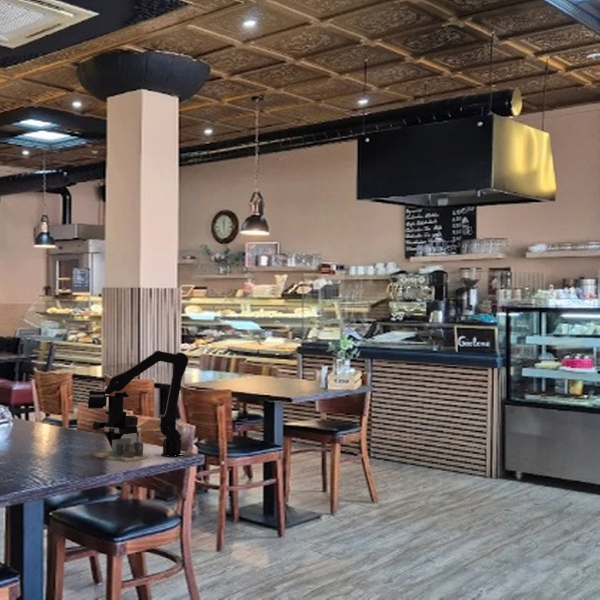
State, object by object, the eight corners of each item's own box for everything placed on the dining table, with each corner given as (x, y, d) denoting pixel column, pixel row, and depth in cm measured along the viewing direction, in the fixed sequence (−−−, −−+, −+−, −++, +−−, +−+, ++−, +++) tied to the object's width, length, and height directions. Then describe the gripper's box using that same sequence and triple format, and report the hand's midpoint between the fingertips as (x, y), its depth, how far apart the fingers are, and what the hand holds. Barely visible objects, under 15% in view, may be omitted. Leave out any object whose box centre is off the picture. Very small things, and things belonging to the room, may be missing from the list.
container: (140, 447, 322) (141, 415, 323) (134, 450, 315) (136, 417, 315) (122, 446, 323) (123, 414, 323) (115, 449, 315) (117, 416, 316)
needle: (122, 455, 292) (123, 444, 292) (119, 455, 291) (119, 444, 291) (119, 454, 293) (120, 443, 293) (116, 455, 292) (116, 444, 292)
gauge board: (148, 458, 298) (148, 442, 298) (126, 461, 289) (126, 445, 289) (111, 451, 309) (112, 436, 309) (89, 455, 300) (90, 439, 300)
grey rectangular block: (141, 454, 297) (141, 440, 297) (122, 458, 290) (122, 442, 290) (126, 452, 302) (127, 437, 302) (107, 455, 294) (108, 440, 294)
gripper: (148, 409, 302) (147, 450, 302) (114, 405, 313) (113, 445, 312) (127, 411, 293) (125, 454, 292) (92, 407, 303) (91, 448, 303)
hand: (114, 450), depth 300 cm, fingers closed
